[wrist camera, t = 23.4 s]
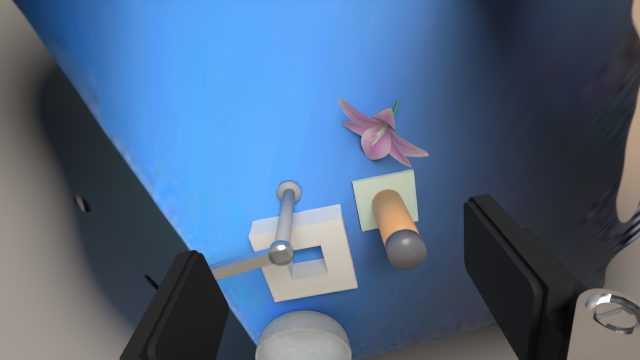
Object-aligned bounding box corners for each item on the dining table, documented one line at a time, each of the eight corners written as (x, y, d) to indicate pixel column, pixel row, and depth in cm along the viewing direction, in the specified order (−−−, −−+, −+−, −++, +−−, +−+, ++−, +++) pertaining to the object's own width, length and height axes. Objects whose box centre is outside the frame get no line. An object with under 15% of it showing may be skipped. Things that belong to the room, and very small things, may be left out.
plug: (400, 186, 48) (425, 236, 37) (403, 212, 50) (428, 266, 39) (369, 192, 48) (386, 243, 37) (373, 217, 50) (390, 272, 40)
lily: (334, 70, 42) (313, 119, 36) (430, 56, 37) (423, 110, 31) (357, 138, 50) (343, 187, 44) (438, 134, 45) (433, 188, 39)
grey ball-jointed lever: (288, 237, 36) (286, 250, 34) (297, 255, 37) (296, 269, 35) (174, 271, 38) (166, 285, 36) (186, 287, 39) (179, 302, 37)
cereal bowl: (262, 352, 66) (257, 388, 60) (258, 294, 59) (252, 328, 52) (344, 353, 67) (347, 388, 61) (351, 295, 59) (355, 329, 53)
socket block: (332, 171, 47) (338, 224, 35) (354, 270, 56) (365, 338, 44) (241, 190, 48) (217, 247, 37) (277, 284, 57) (268, 354, 46)
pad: (412, 169, 47) (413, 170, 47) (417, 218, 51) (418, 220, 51) (352, 181, 48) (352, 183, 47) (361, 229, 52) (362, 231, 51)
